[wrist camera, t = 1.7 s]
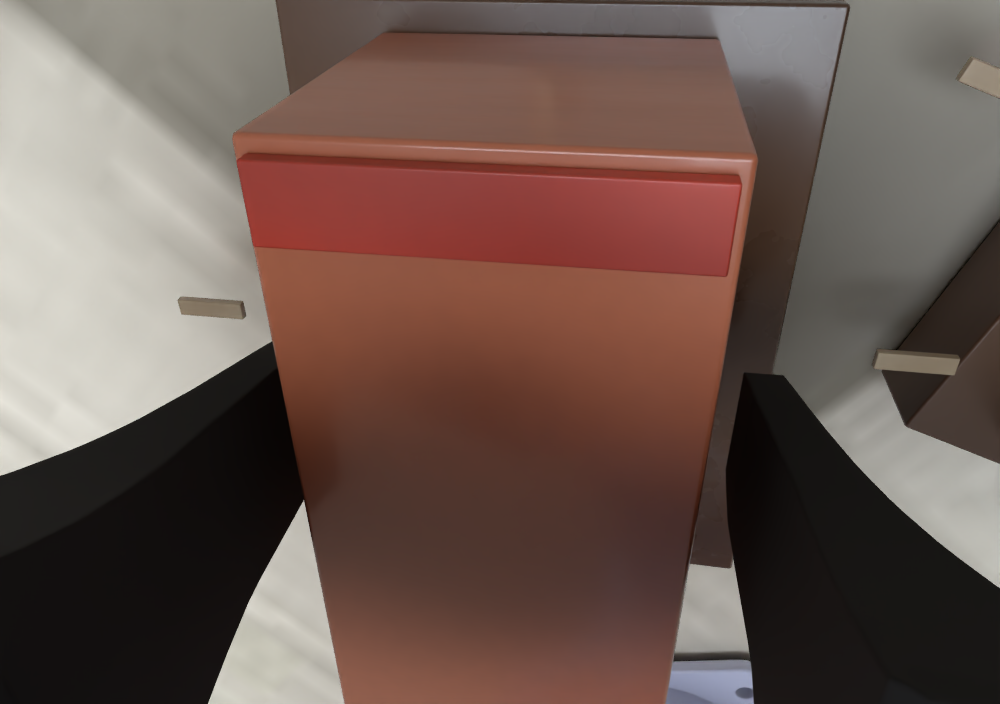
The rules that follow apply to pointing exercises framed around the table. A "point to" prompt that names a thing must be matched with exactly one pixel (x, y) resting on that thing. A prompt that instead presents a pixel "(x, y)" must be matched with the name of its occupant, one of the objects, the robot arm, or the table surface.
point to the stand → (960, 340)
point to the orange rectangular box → (502, 350)
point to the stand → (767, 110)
